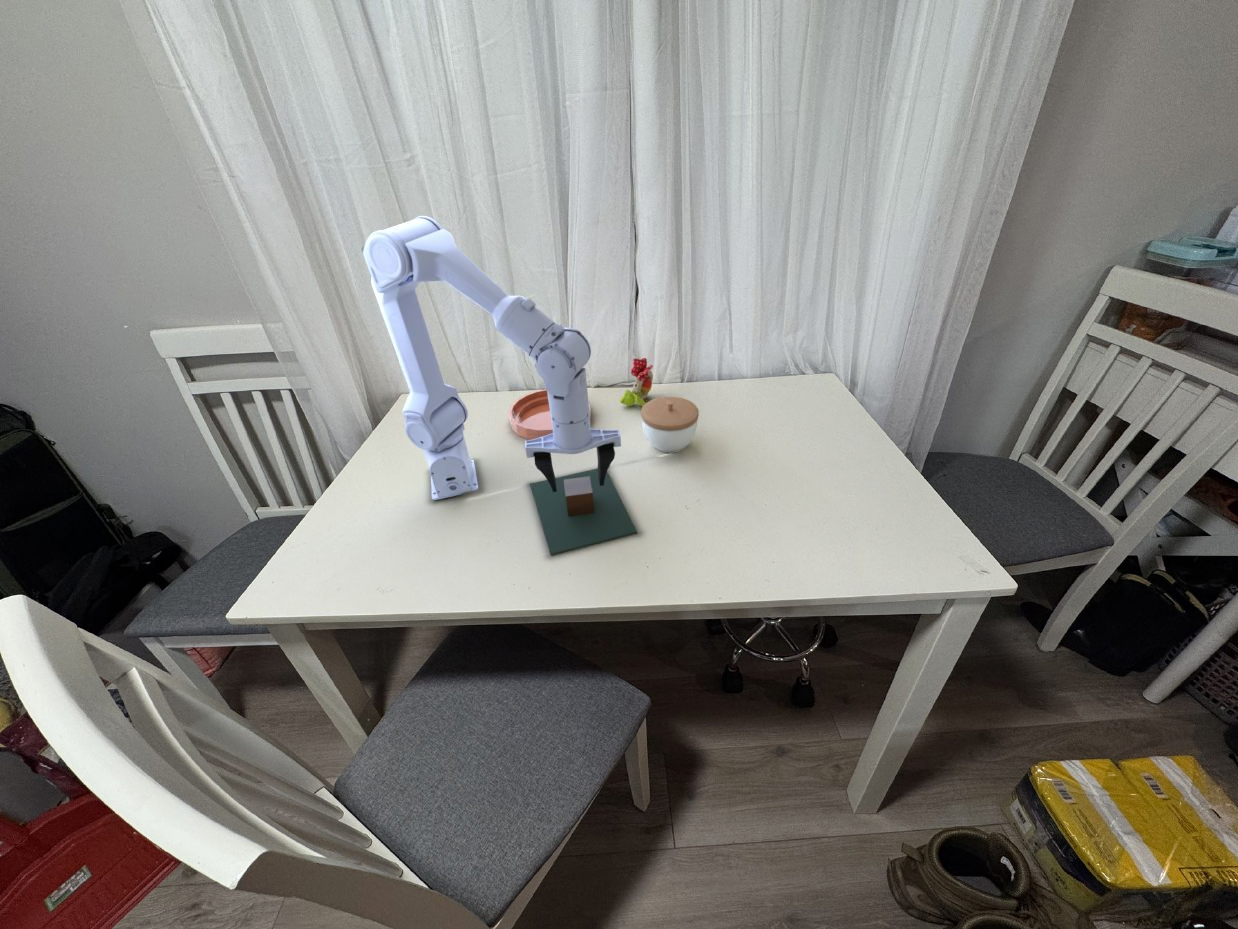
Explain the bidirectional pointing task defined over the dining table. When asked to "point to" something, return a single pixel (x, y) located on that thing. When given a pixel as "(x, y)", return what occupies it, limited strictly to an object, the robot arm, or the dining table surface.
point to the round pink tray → (532, 415)
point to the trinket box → (669, 423)
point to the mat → (581, 528)
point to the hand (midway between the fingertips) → (577, 485)
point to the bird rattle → (639, 383)
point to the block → (579, 496)
